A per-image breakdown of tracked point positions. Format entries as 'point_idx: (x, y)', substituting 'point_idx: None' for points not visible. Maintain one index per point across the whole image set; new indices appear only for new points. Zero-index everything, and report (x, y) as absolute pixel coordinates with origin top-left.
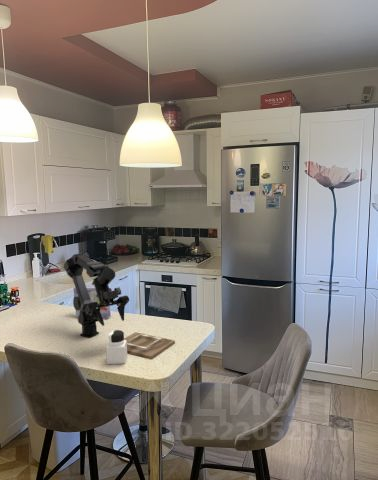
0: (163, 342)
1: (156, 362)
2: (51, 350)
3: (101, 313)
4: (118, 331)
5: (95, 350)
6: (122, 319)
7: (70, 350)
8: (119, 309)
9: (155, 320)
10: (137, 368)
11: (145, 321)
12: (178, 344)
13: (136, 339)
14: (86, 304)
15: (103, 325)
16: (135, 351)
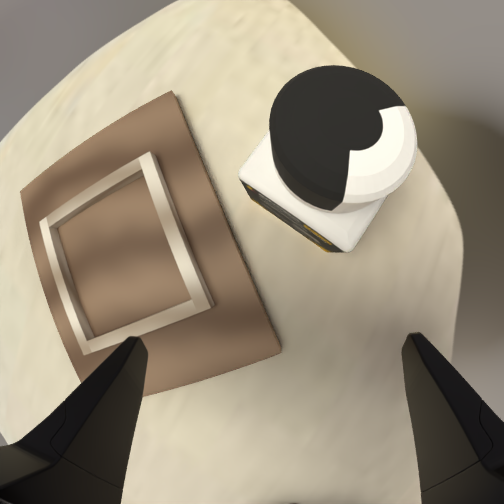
0: (51, 202)
1: (179, 64)
2: None
3: None
4: (324, 113)
5: (352, 377)
6: (140, 357)
7: None
8: (98, 488)
9: (15, 434)
10: (275, 59)
11: None
12: (27, 174)
13: (120, 327)
14: None
15: (417, 334)
16: (198, 185)
